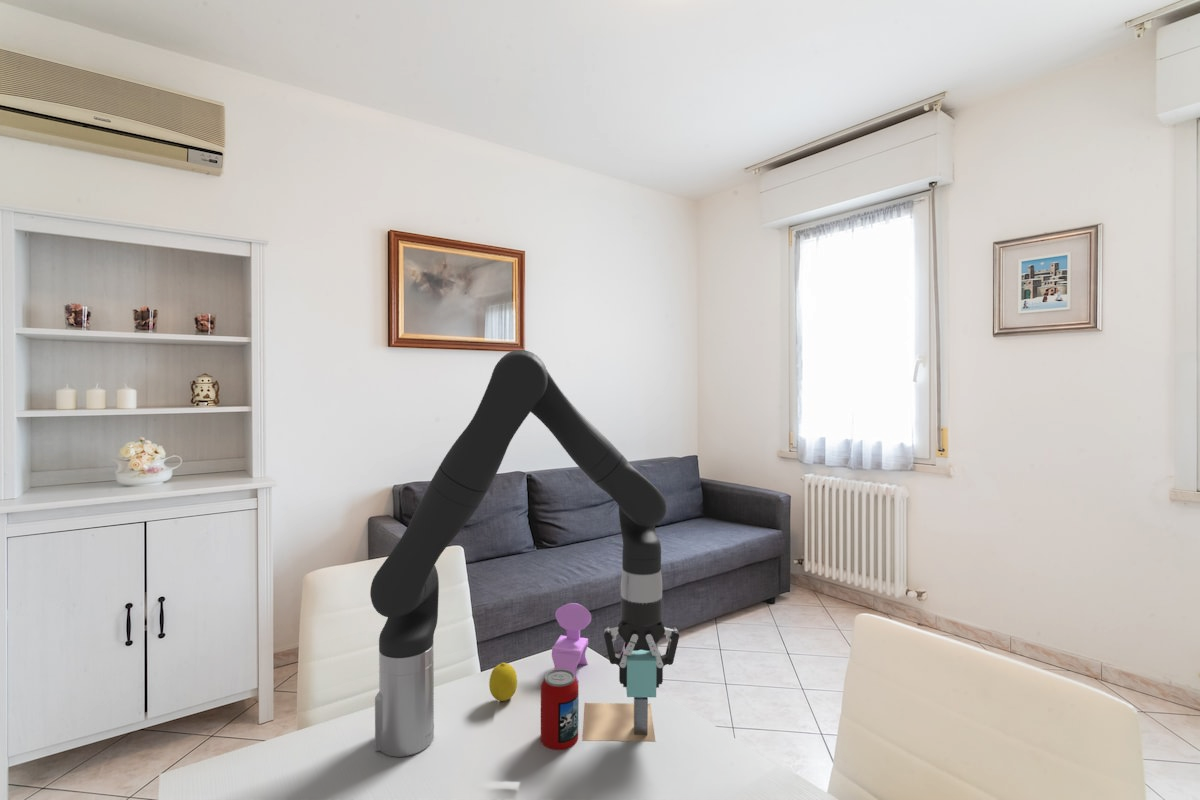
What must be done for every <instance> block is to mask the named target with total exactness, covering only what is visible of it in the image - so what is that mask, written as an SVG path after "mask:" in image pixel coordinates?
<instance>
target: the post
mask: <svg viewBox="0 0 1200 800" xmlns="http://www.w3.org/2000/svg"><path fill="white" fill-rule="evenodd" d="M648 698H649V697H633V704H634V735H648V704H649V701H648Z"/></svg>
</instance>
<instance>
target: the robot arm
mask: <svg viewBox="0 0 1200 800" xmlns="http://www.w3.org/2000/svg"><path fill="white" fill-rule="evenodd" d="M530 413H531V414H532V415H534V416H535V417H536V418H537V419H539V421H540V422H541V423H542V424H543V425H544V426H545V427H546V428H547V430H549V432H551V434H552V435H553V436H554V438H555V439H556V440H557V441H558V443H559V444H560V445H561V447H562V448H563V450H564V451H565V452H566V453H567V455H568V456H569V457H570V458H571V459H572V460H573V461H574V463H575V464H576V465H577V467H578V468H579V469H581V470H582V471H583V473H585V474H586V476H587V477H588V478H589V479H590V480H591V481H592V482H594V484H596V486H598V487H599V488H600V489H601V490H603V492H605V493H607V494H608V495H609V496H610V498H612V500H613V501H615V502H616V504H617V505H618V516H619V517H618V518H619V523H620V524H619V525H620V532H621V537H622V556H621V557H622V567H621V568H622V569H621V571H622V572H621V577H620V579H621V580H620V589H619V590H620V621H619V623H618V626H615V627H610V626H605V627H604V629H603V635H604V642H605V646H606V650H607V651H606V652H607V654H608V656H607V657H608V659H609V663H610V664H612V665H617V666H618V668H619V673H618V675H619V676H618V678H619V679H618V681H619V684H621V685H622V687H623V688H626V687H627V657H630V656H631V654H632V651H638V650H645V651H650V650H651V653H652V655H653V658H654V657H656V661H657V662H656V689H657V688H660V685H663V681H664V679H663V677H664V673H663V671H664V667H665V666H667V665H668V666H671V665H673V663H674V660H675V657H676V651H677V648H678V644H679V640H680V633H679V630H678V628H677V627H675V626H674V627H672V628H669V627H666V626H665V625H664V624H663V576H662V545H661V542H660V539H659V538H658V536H657V533H656V525H658V524H660V522H661V521H663V519H664V517H665V516H666V512H667V503H666V502H667V501H666V499H665V497H664V495H663V493H662V492H661V491H660V490H659V489H658V488H657V487H656V486H655V485H654V484H653V483H652V482H651V481H649V479H648V478H646V477H645V476H644V475H643V474H641V472H639V471H638V470H637V469H636V468H635V467H634V466H632V465H633V464H631V463H630V462H629V461H628V459H627V458H626V457H625V456H624V455H623V454H622V453H621V452H620V451H619V449H618V448H617V447H616V446H615V445H614V444H613V443H612V442H611V441H610V440H609V439H608V438H607V437H606V436H605V435H604V434H603V433H602V432H601V431H600V430H599V429H598V428H597V427H596V426H594V425H593V423H591V422H590V421H589V419H587V418H586V416H584V414H582V413H581V412H580V411H579V410H578V409H577V407H576V406H575V405H574V404H573V403H572V402H571V401H570V400H569V399H568V397H567V396H566V395H565V394H564V392H563V391H562V390H561V388H560V387H559V386H558V384H557V383H556V382H555V380H554V378H553V377H552V376H551V374H550V372H549V371H548V369H547V367H546V365H545V363H544V362H543V360H542V359H541V357H539V356H538V355H537V354H535V353H534V352H531V351H529V350H525V349H524V350H523V349H515V350H511V351H509V352H508V353H506V354H504V355H503V356H502V357H501V358H500V359H499V360H498V362H497V363H496V364H495V366H494V369H493V370H492V372H491V376H490V379H489V382H488V384H487V387H486V389H485V391H484V394H483V396H482V398H481V400H480V403H479V405H478V406H477V409H476V411H475V413H474V414H473V415H474V416H473V417H472V419H471V421H469V423H468V425H467V426H466V427H465V429H463V431H462V433H460V435H459V436H458V438H457V439H456V440H455V442H454V443H453V444H452V446H451V447H450V449H449V450H448V451H447V453H446V455H445V456H444V458H443V459H442V461H441V463H440V464H439V466H438V468H437V470H436V471H435V474H434V475H433V477H432V479H431V480H430V483H429V485H428V486H427V488H426V491H425V492H424V494H423V496H422V498H421V500H420V501H419V503H418V506H417V508H416V509H415V511H414V513H413V515H412V517H411V519H410V521H409V523H408V526H407V527H406V529H405V531H404V532H403V534H402V536H401V537H400V539H399V541H398V542H397V544H396V545H395V546H394V547H393V549H392V551H391V552H390V554H389V555H388V556H387V558H386V560H385V559H384V561H383V563H382V564H381V565H380V567H379V569H378V570H377V571H376V573H375V575H374V576H373V578H372V581H371V584H370V585H371V586H370V591H369V592H370V600H371V604H372V607H373V608H374V609H375V611H376V612H377V613H378V614H379V615H380V616H382V617H385V618H387V619H386V621H385V622H384V623H385V624H384V626H383V628H382V629H381V631H380V634H379V637H378V660H379V661H378V662H379V663H378V665H379V666H378V673H379V677H378V679H379V682H378V683H379V684H378V685H379V688H378V689H379V690H378V692H377V694H376V695H375V696H374V751H375V752H381V753H383V754H385V755H387V756H389V757H395V758H396V757H399V758H402V757H408V756H413V755H415V754H418V753H420V752H422V751H423V750H425V749H426V748H428V747H429V746H430V745H431V744H432V742H433V741H434V738H435V737H434V735H435V734H434V733H435V732H434V731H435V721H434V719H435V717H434V716H435V715H434V714H435V713H434V707H435V705H434V703H435V702H434V700H435V699H434V698H435V696H434V695H435V693H434V690H435V688H434V684H435V682H434V680H435V679H434V678H435V677H434V674H435V673H434V672H435V671H434V663H435V662H434V660H435V659H434V656H435V655H434V653H435V651H434V635H435V632H436V629H437V625H438V617H439V592H440V589H439V588H440V586H439V585H440V584H439V580H440V579H439V574H438V570H437V567H436V563H437V562H438V559H439V558H440V556H441V555H442V554H443V552H444V551H445V550H446V548H447V547H448V546H449V545H450V543H451V542H452V541H454V539H455V537H457V535H458V534H459V533H460V532H461V531H462V530H463V529H464V527H465V526H466V525H467V524H468V522H469V521H470V519H471V518H472V516H474V514H475V512H476V511H477V510H478V508H479V507H480V505H481V503H482V502H483V499H484V498H485V496H486V494H487V493H488V491H489V488H490V487H491V485H492V483H493V481H494V479H495V477H496V475H497V474H498V473H497V472H499V469H500V467H501V464H502V462H503V460H504V457H505V454H506V453H507V449H508V448H509V447H510V446H509V445H510V443H511V441H512V440H513V438H514V436H515V435H516V433H517V431H518V430H519V428H520V427H521V426H522V424H523V423H524V421H526V419H527V417H528V416H529V414H530ZM617 635H619V636H620V638H622V640H623V641H624V644H623V647H622V650H621V652H620V654H617V652H616V647H615V643H614V642H615V641H616V640H617ZM664 635H665V638H666V641H667V645H666V646H667V647H666V650H665V654H661V652H660V649H659V646H658V643H659V641H660V640H662V639H661V638H663V636H664Z"/></svg>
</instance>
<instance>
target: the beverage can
mask: <svg viewBox="0 0 1200 800" xmlns="http://www.w3.org/2000/svg"><path fill="white" fill-rule="evenodd" d="M579 695H580V694H579V682H577V680H576V679H575V675H574V674H573V673H572V672H571V671H569V670H565V669H557V670H555V669H553V670H550V671H548V672H547V673H545V675H544V679H543V681H542V682H541V684H540V741H541V744H542V745H543V746H545V748H548V749H550V750H554V751H562V750H567V749H570V748H571V747H573V746H575V745H576V744H577V742H578V740H579V704H580V703H579V702H580V701H579Z"/></svg>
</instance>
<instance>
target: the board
mask: <svg viewBox="0 0 1200 800" xmlns="http://www.w3.org/2000/svg"><path fill="white" fill-rule="evenodd" d="M583 710H584V711H583V726H582V728H583V729H582V742H584V741H585V742H589V741H590V742H591V741H593V742H594V741H595V742H656V735H655V728H654V721H653V714H652V705H651V703H648V735H634V702H633V703H626V702H625V703H623V702H622V703H620V702H619V703H618V702H614V703H613V702H612V703H609V702H607V703H606V702H584V709H583Z"/></svg>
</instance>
